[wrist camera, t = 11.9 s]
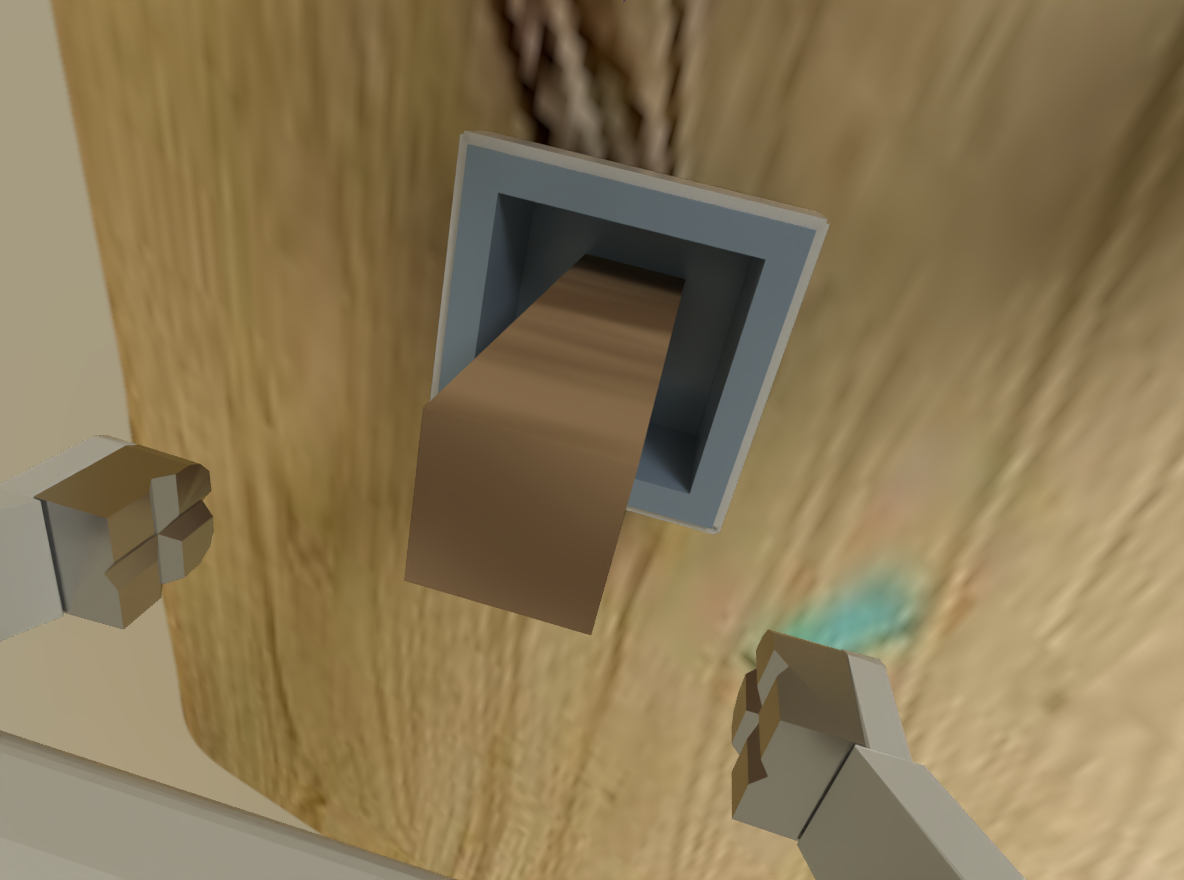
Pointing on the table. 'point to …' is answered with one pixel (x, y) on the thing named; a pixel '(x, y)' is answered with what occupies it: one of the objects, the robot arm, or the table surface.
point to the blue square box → (654, 242)
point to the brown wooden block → (543, 447)
